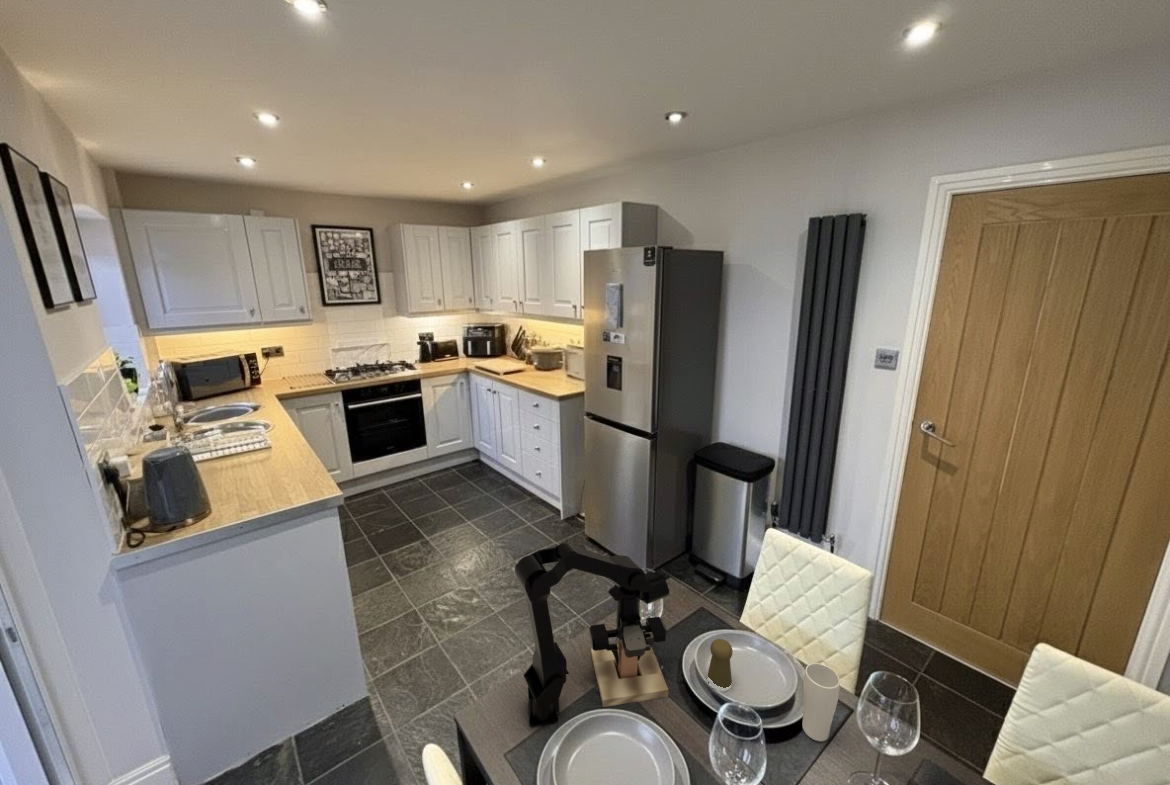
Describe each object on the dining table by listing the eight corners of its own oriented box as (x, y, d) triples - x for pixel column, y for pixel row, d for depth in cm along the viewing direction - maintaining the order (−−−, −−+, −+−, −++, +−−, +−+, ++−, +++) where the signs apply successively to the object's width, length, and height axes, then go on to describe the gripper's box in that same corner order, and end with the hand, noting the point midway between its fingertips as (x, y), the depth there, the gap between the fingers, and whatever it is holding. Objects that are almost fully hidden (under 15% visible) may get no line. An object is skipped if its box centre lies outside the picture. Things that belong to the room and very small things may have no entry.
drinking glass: (831, 752, 97) (839, 694, 94) (796, 736, 101) (802, 679, 97) (833, 726, 103) (841, 670, 99) (800, 712, 106) (807, 657, 103)
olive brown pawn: (733, 693, 111) (736, 655, 109) (707, 689, 112) (709, 651, 110) (730, 673, 117) (733, 636, 114) (706, 669, 118) (708, 633, 116)
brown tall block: (621, 682, 115) (621, 648, 112) (617, 669, 119) (618, 636, 116) (637, 680, 115) (637, 646, 113) (632, 667, 119) (633, 634, 117)
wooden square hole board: (602, 707, 108) (602, 700, 108) (590, 654, 123) (590, 648, 123) (668, 696, 111) (668, 689, 110) (648, 646, 126) (648, 639, 125)
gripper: (596, 637, 103) (597, 694, 107) (676, 626, 106) (673, 682, 110) (588, 604, 114) (588, 656, 118) (660, 595, 117) (659, 646, 120)
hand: (627, 661), depth 116 cm, fingers open, 5 cm apart
